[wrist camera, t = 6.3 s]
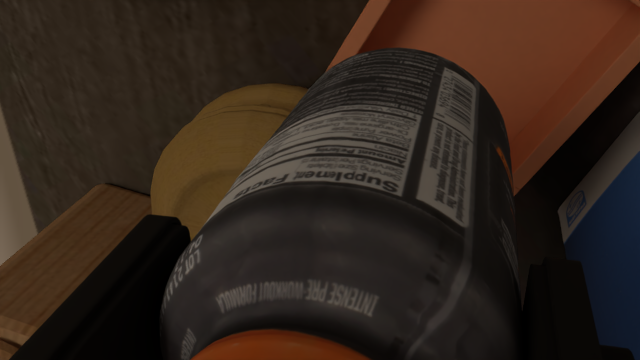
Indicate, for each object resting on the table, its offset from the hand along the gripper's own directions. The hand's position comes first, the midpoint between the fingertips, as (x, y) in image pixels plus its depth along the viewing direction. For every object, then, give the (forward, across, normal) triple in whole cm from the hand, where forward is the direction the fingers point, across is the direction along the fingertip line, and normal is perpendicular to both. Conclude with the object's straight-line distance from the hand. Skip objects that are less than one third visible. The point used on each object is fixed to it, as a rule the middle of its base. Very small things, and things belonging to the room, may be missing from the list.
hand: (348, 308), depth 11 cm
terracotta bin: (+22, -2, 0) cm, 22 cm away
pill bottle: (+7, 0, 0) cm, 7 cm away
